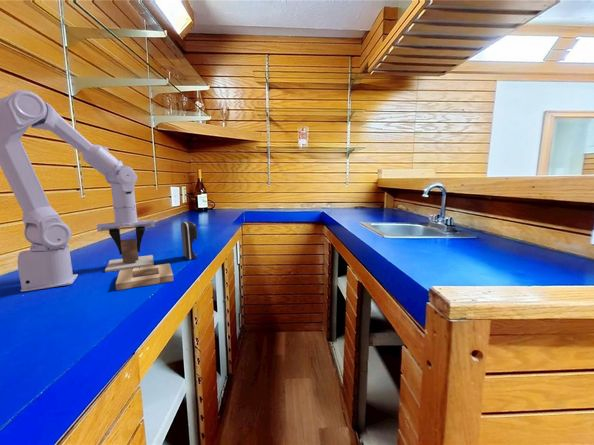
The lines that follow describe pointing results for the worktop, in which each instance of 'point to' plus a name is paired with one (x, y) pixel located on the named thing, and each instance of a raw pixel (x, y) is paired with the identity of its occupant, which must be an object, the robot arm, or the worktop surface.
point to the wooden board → (127, 280)
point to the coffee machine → (188, 238)
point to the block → (129, 250)
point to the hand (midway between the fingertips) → (129, 252)
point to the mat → (129, 263)
